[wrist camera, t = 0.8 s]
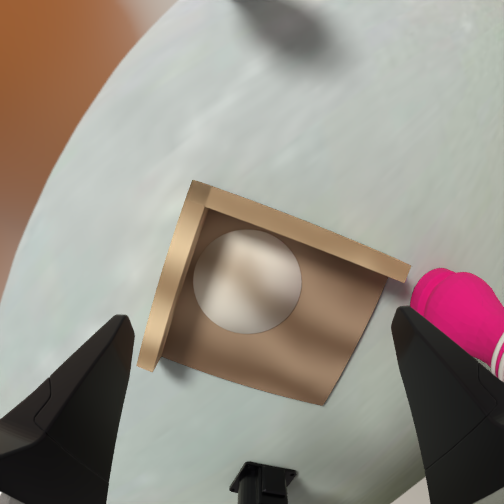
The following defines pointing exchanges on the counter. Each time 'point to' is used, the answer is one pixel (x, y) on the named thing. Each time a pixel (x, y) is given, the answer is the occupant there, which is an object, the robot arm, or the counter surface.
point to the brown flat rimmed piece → (262, 296)
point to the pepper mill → (464, 313)
